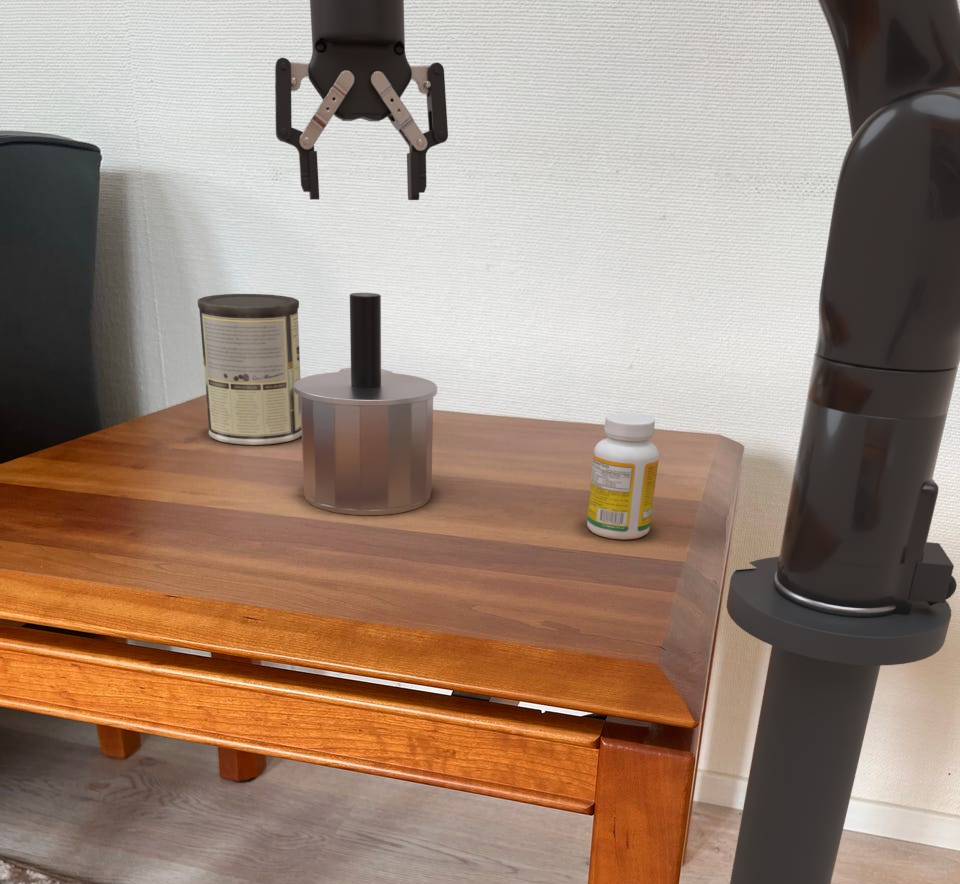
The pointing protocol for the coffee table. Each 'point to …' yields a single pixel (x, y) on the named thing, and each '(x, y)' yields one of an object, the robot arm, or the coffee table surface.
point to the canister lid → (365, 367)
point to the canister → (367, 456)
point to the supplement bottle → (623, 478)
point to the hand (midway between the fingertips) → (364, 199)
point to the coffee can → (251, 367)
